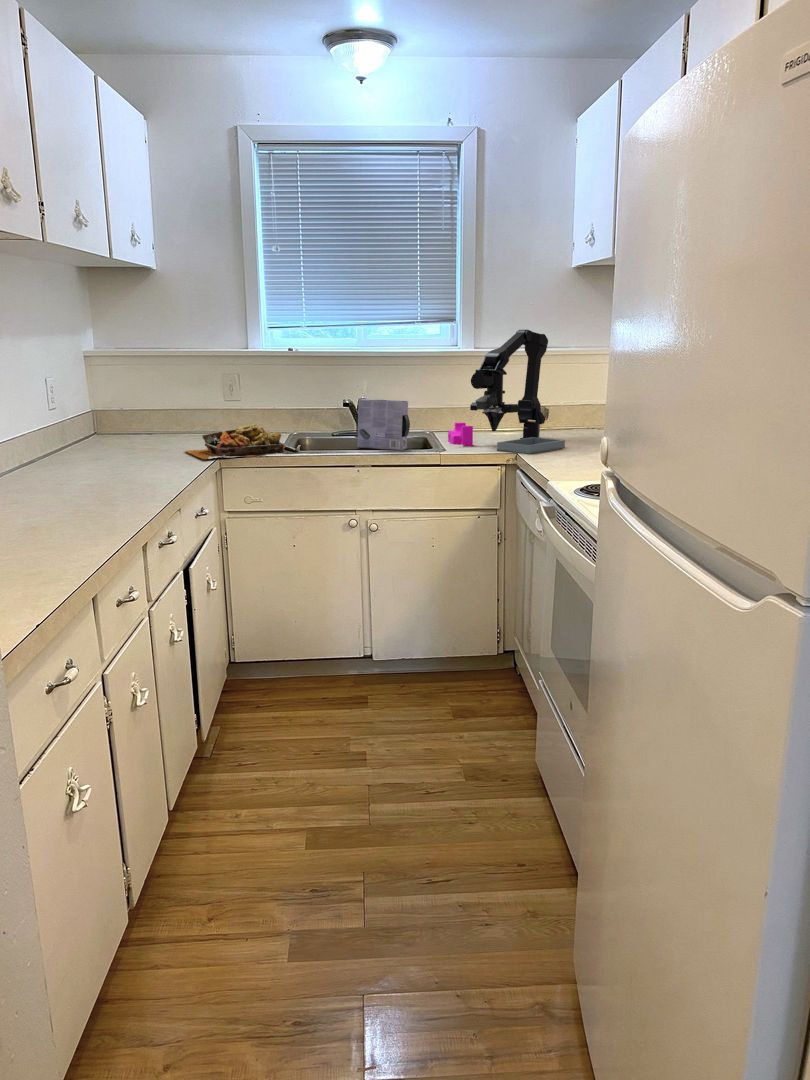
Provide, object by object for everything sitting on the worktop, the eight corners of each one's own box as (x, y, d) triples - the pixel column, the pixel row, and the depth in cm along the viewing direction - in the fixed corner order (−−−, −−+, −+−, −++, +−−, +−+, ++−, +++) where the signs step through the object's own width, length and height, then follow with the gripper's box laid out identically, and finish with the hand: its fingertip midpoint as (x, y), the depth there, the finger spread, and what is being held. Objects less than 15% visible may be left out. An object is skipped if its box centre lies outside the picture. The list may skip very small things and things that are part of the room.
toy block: (448, 442, 309) (448, 422, 307) (463, 441, 310) (464, 422, 308) (455, 447, 294) (456, 426, 293) (472, 446, 295) (472, 426, 294)
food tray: (203, 461, 264) (200, 429, 262) (183, 453, 286) (181, 422, 283) (302, 454, 281) (301, 423, 278) (276, 446, 302) (275, 418, 300)
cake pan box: (410, 449, 288) (410, 399, 283) (404, 450, 283) (404, 400, 279) (363, 446, 296) (362, 398, 291) (356, 448, 291) (355, 399, 287)
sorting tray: (532, 445, 296) (532, 437, 295) (564, 448, 286) (564, 440, 286) (497, 450, 282) (497, 442, 281) (529, 454, 272) (529, 445, 271)
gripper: (460, 387, 290) (460, 431, 294) (501, 389, 277) (500, 434, 281) (480, 386, 298) (479, 428, 301) (520, 388, 285) (519, 432, 289)
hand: (493, 431), depth 293 cm, fingers closed
